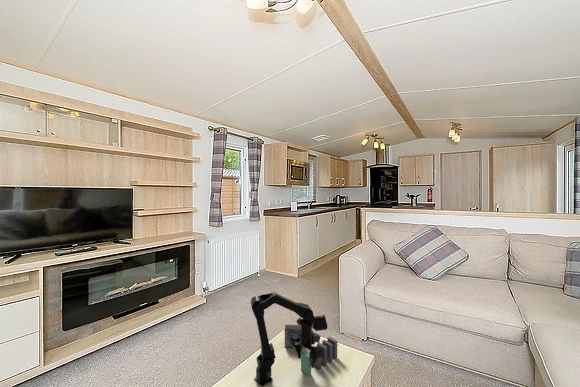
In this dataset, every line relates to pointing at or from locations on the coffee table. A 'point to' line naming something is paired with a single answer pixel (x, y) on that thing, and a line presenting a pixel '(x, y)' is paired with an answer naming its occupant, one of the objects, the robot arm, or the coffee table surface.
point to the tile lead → (305, 363)
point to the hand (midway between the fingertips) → (306, 362)
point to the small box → (291, 334)
